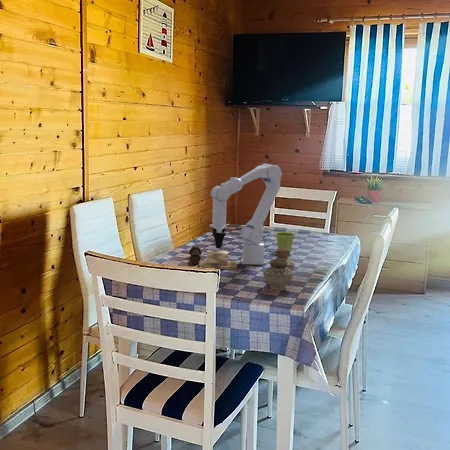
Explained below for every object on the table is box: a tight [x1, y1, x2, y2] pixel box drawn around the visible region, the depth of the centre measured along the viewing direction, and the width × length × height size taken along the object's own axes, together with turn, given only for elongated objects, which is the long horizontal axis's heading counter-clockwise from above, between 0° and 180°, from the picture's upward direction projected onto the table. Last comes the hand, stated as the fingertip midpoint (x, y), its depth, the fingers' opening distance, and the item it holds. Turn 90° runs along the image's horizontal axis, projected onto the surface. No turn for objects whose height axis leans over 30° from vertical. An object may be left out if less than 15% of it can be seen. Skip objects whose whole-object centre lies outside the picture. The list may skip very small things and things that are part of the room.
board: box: [198, 259, 238, 270], centre depth 233 cm, size 16×10×1 cm, turn 92°
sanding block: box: [206, 249, 229, 265], centre depth 233 cm, size 9×5×5 cm, turn 92°
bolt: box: [188, 246, 203, 265], centre depth 240 cm, size 6×5×15 cm
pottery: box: [262, 247, 296, 292], centre depth 209 cm, size 11×25×12 cm, turn 169°
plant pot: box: [274, 231, 296, 253], centre depth 263 cm, size 9×9×9 cm
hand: (218, 246), depth 232 cm, fingers open, 7 cm apart
